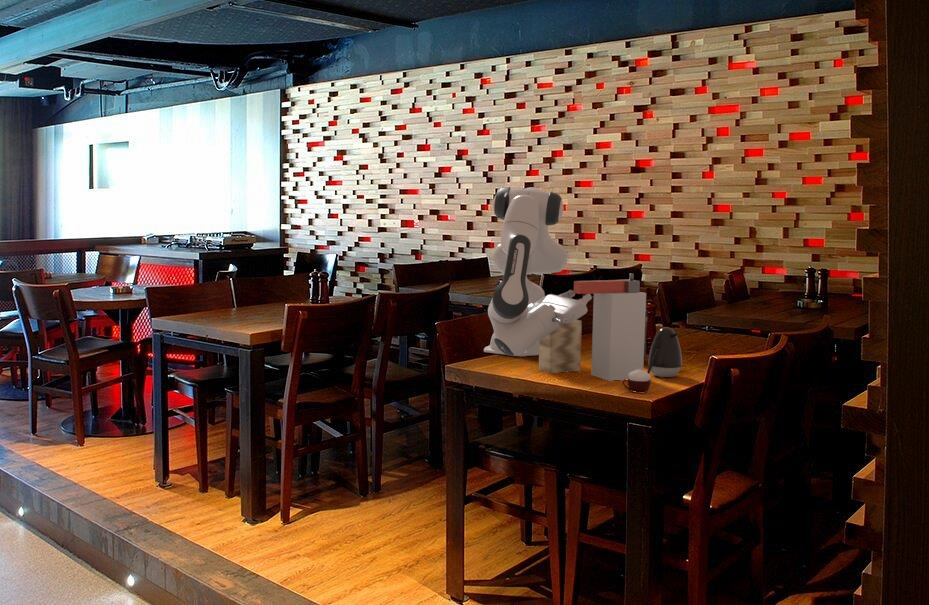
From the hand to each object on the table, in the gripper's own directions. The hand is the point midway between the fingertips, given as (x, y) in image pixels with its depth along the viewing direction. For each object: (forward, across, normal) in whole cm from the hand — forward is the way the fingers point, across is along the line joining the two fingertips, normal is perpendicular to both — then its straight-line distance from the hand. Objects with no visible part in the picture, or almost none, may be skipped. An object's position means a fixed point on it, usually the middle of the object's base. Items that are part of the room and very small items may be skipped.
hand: (581, 293), depth 254 cm
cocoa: (-6, -20, +26) cm, 34 cm away
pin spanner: (+7, 0, +4) cm, 8 cm away
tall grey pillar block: (-2, 0, +29) cm, 29 cm away
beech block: (-12, +15, +23) cm, 30 cm away
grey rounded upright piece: (+11, -4, +37) cm, 39 cm away
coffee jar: (+16, +21, +40) cm, 48 cm away
